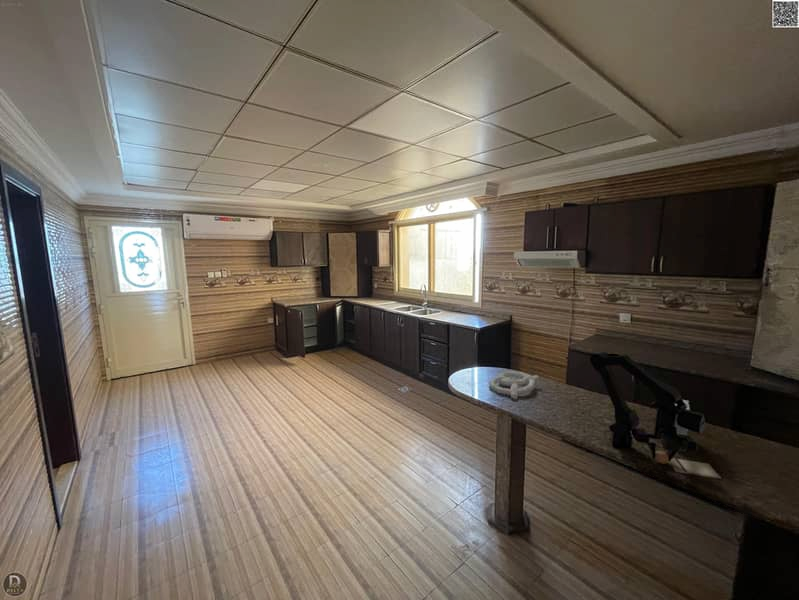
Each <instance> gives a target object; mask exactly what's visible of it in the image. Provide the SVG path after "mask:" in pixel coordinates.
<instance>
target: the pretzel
mask: <svg viewBox="0 0 799 600" xmlns="http://www.w3.org/2000/svg"><path fill="white" fill-rule="evenodd" d="M509 377H513V378H509ZM516 378H520V379H516ZM539 380H540V376H539V375H537V374H535V375H530V374H527V373H525V372H521V371H517V370H508V371H502V372H500V374H499V375H498V376H495V377H493V378H492V379H490V380H489V381H488V386H489V388H490V390H492V389H493V390H495V391H497V392H498V393H497V392H496V393H497V394H499V393H503V394H502V395H505V394H507V396H510V395H511V396H510V397H511V399H512V398H513V400H517V399H518V397H519V396H521V395H522V396H523V395H525V394H528V393H530V392H532V391H533V390H534V388H535V386H536V384H537V383H536V382H538V381H539ZM497 383H498V384H499V383H500V385H503V386H510V388H508V387H507V388H505V387H500V386H499V385H498V384H497ZM527 384H528V385H527ZM524 385H526V386H524ZM519 386H523V387H519ZM518 387H519V388H518ZM493 390H492V391H493ZM495 391H494V392H495Z"/></svg>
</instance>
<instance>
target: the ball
mask: <svg viewBox="0 0 799 600" xmlns="http://www.w3.org/2000/svg"><path fill="white" fill-rule="evenodd" d="M654 460H655V461H656V462H657V463H659V464H662V465H664V464H667V463H669V462H668V460H669V458H668V455H667V453H666V452H665V451H663V450H655V459H654Z"/></svg>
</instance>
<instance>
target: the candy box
mask: <svg viewBox="0 0 799 600" xmlns="http://www.w3.org/2000/svg"><path fill="white" fill-rule="evenodd" d="M682 400H683V402H684V403H685V404H686V406H687V408H686V409H687V410H690V411H691V409H690V401H689V400H685V399H682ZM675 406H677V404H676V403H675ZM676 419H677V416H676ZM675 427H676V428H677V435H679V434H681V435H688V434H689V430H688V429H685V428H682V427H680V426H679V425H678V424H677V422H676V424H675ZM688 436H689V435H688ZM686 450H687V448H686V449H685V450H681V451H683V452H685V451H686Z"/></svg>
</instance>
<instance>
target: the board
mask: <svg viewBox="0 0 799 600" xmlns="http://www.w3.org/2000/svg"><path fill="white" fill-rule="evenodd" d="M667 463H669V464H670V466H671V467H672V469H673V470H674V471H675V472H677V473H682V474H687V475H692V474H693V475H692V476H698V475H699V476H700V477H704V478H710V477H711V478H710V479H717V480H722V477H721V476H720V475H719V474H718V473H717V472H716V470H715V469H713V467H712V466H711V465H710V464H709V463H706V462H699V461H693V460H688V459H687V460H686V459H681V458H680V459H679V458H676V457H673V458H672V459H671V460H670V461H668V462H667Z"/></svg>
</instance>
